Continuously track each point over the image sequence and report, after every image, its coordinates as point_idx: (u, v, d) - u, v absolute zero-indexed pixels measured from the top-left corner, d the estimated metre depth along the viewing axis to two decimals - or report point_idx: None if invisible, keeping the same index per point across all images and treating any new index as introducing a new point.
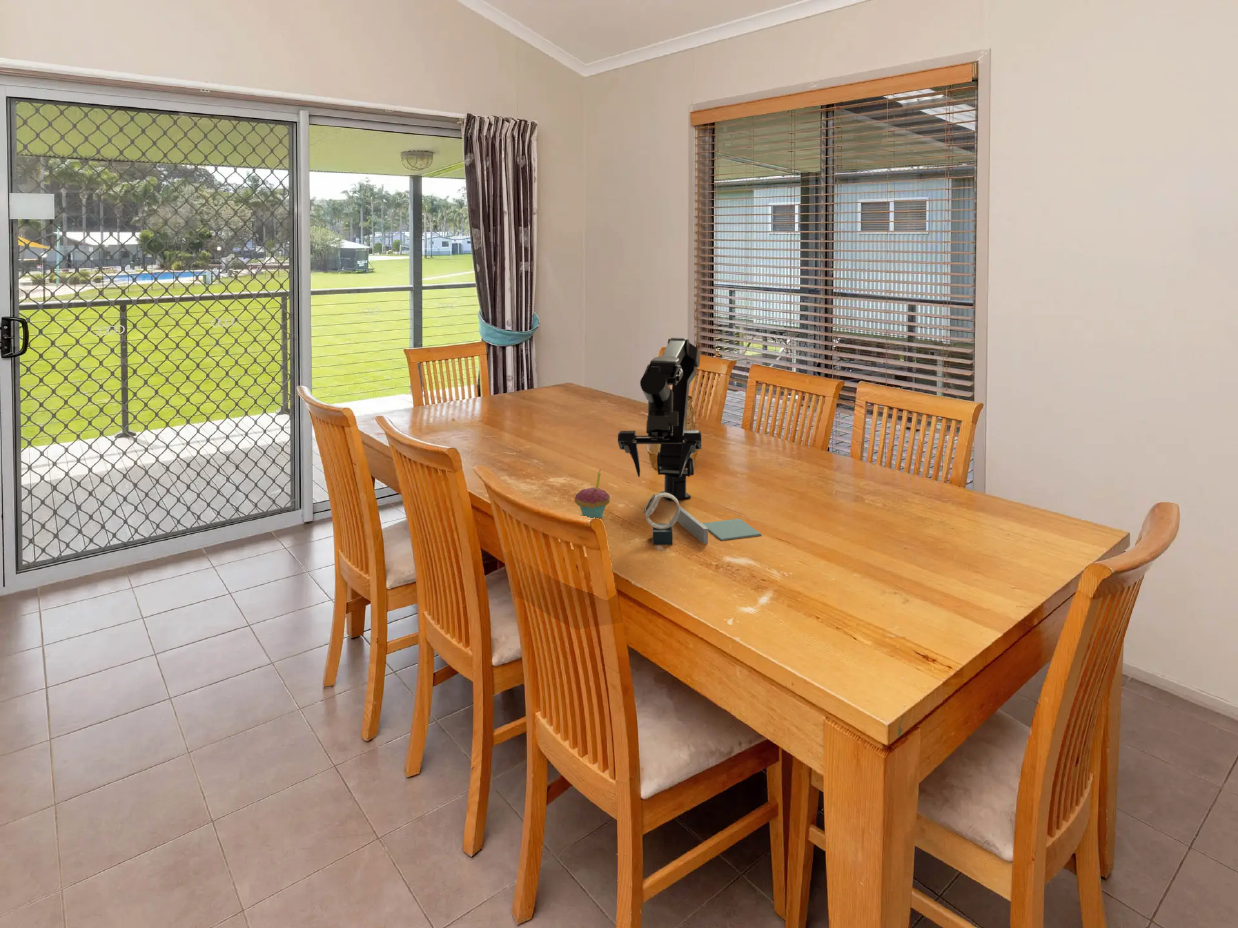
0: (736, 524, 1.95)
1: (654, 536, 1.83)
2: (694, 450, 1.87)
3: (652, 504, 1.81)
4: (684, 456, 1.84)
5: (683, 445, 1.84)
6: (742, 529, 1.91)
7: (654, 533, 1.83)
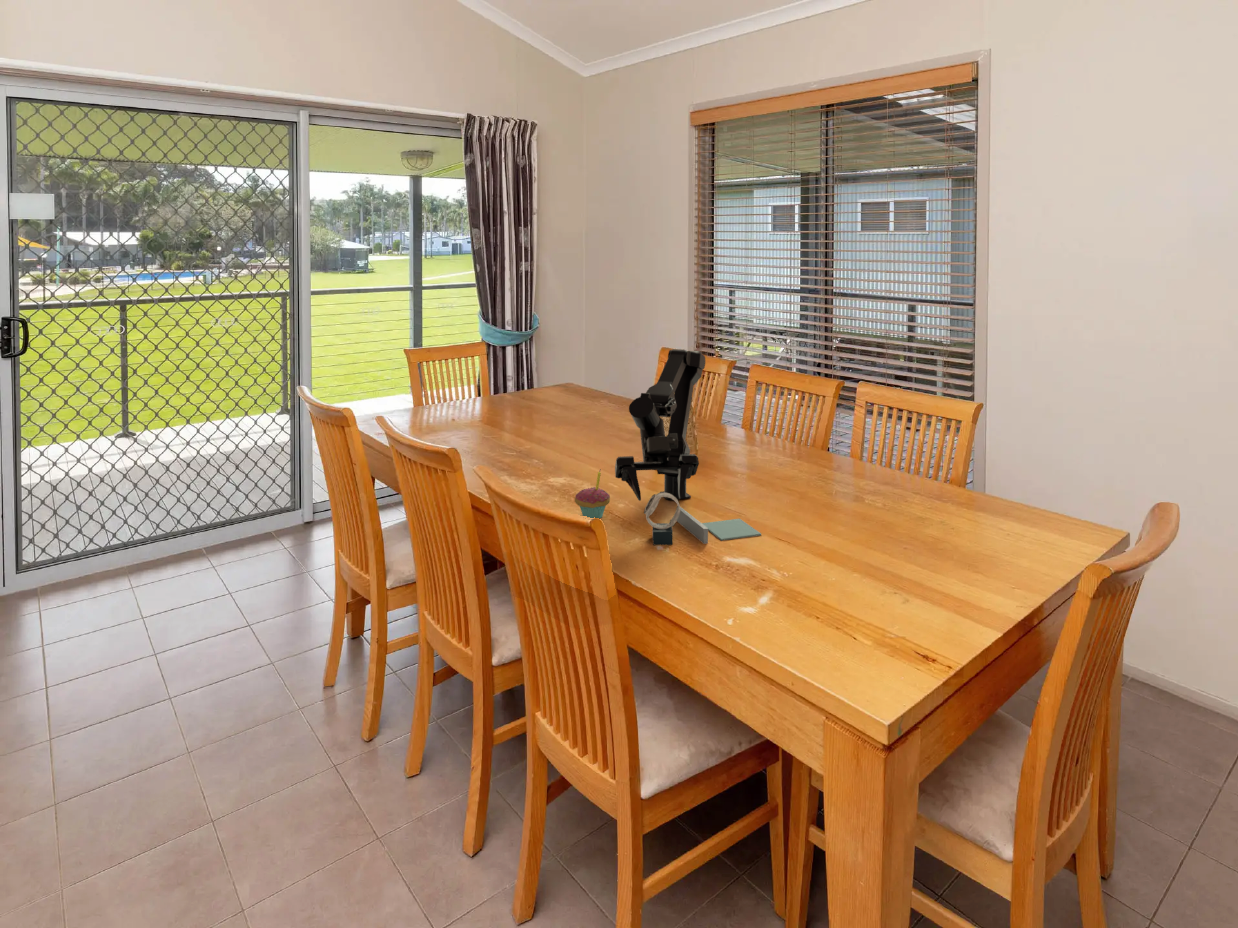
0: (736, 524, 1.95)
1: (654, 536, 1.83)
2: (690, 475, 1.90)
3: (652, 504, 1.81)
4: (683, 478, 1.87)
5: (682, 467, 1.87)
6: (742, 529, 1.91)
7: (654, 533, 1.83)
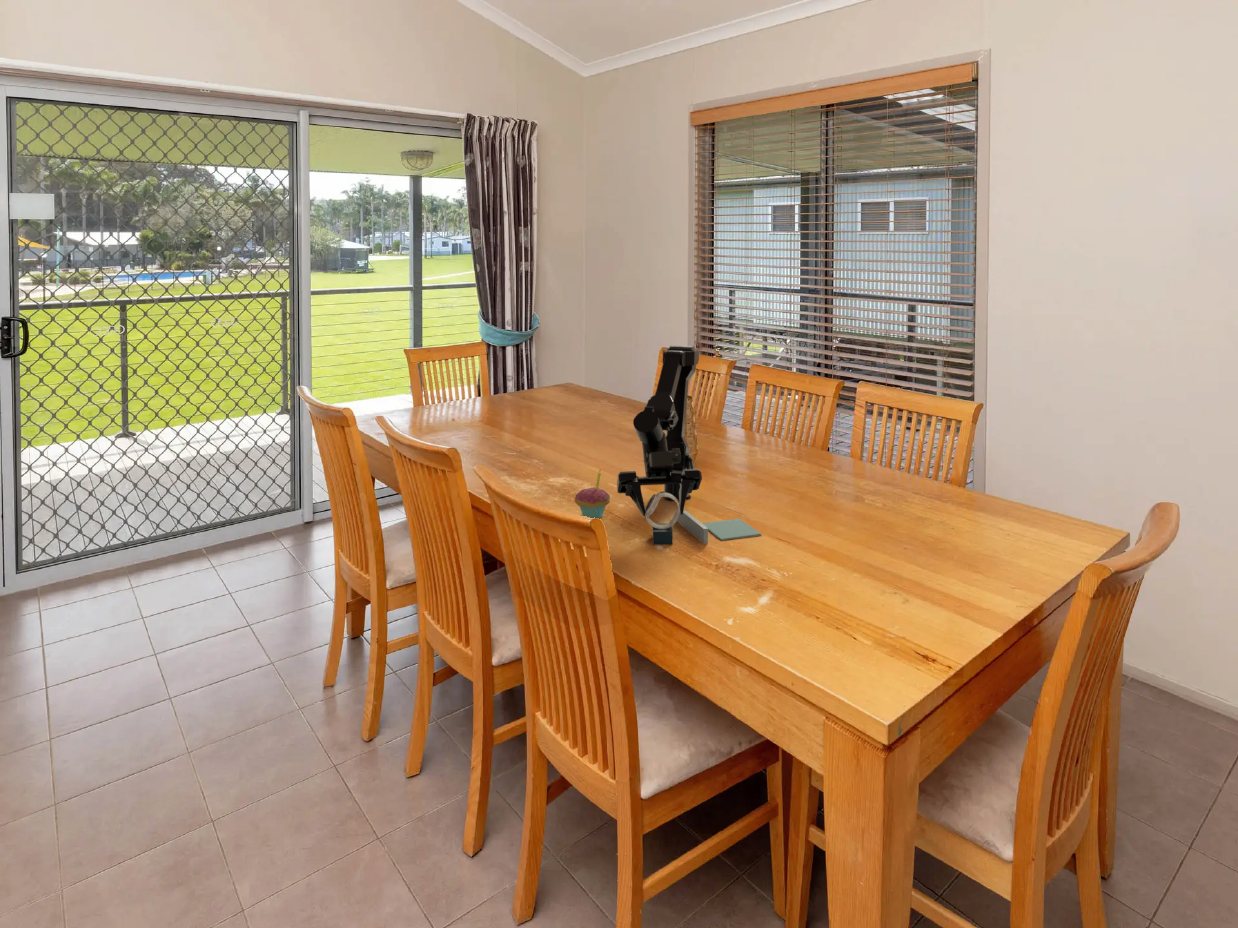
0: (736, 524, 1.95)
1: (654, 536, 1.83)
2: (691, 489, 1.88)
3: (652, 504, 1.81)
4: (684, 494, 1.84)
5: (683, 482, 1.84)
6: (742, 529, 1.91)
7: (654, 533, 1.83)
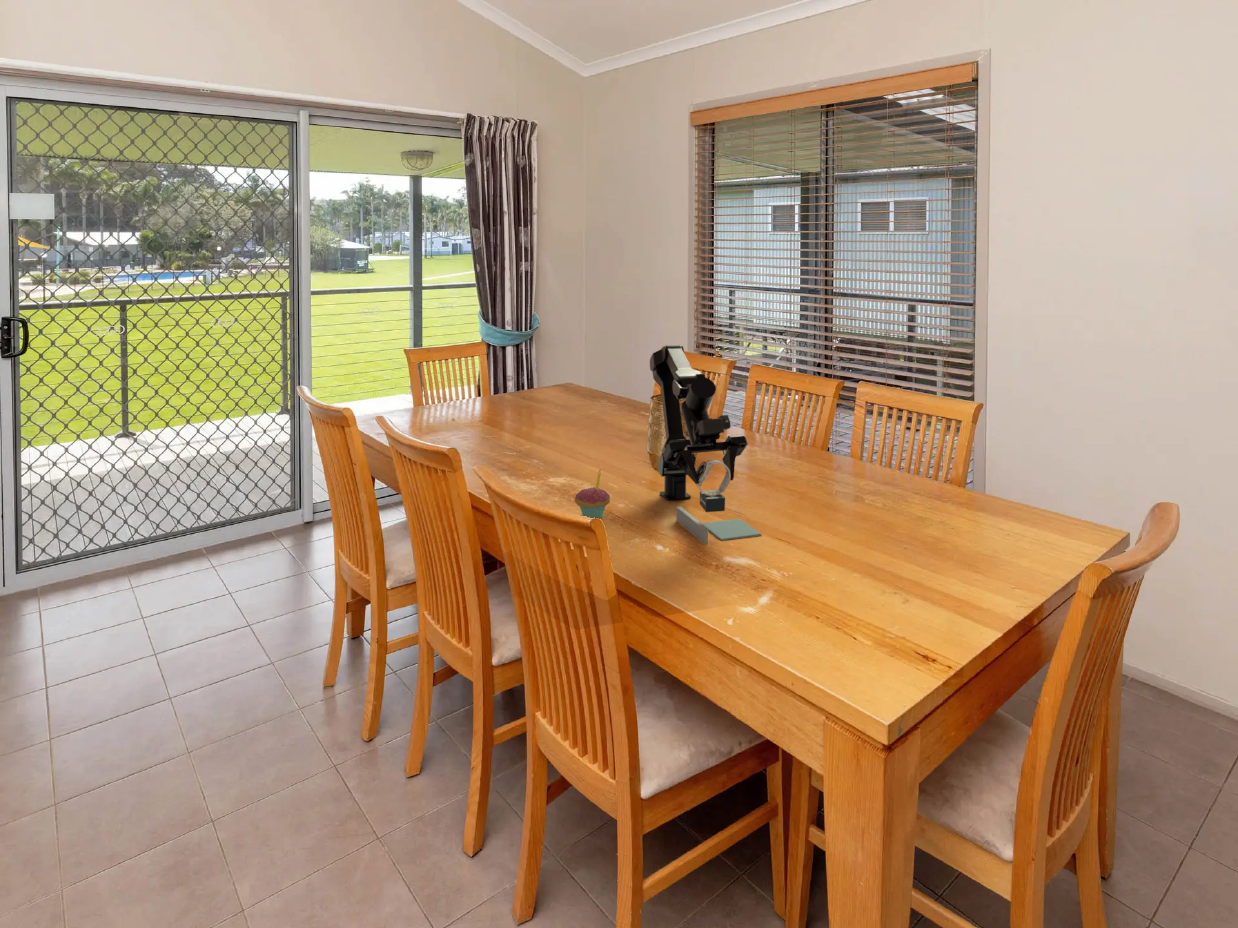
0: (736, 524, 1.95)
1: (707, 503, 1.84)
2: (735, 455, 1.90)
3: (705, 471, 1.82)
4: (733, 460, 1.87)
5: (731, 449, 1.86)
6: (742, 529, 1.91)
7: (707, 500, 1.84)
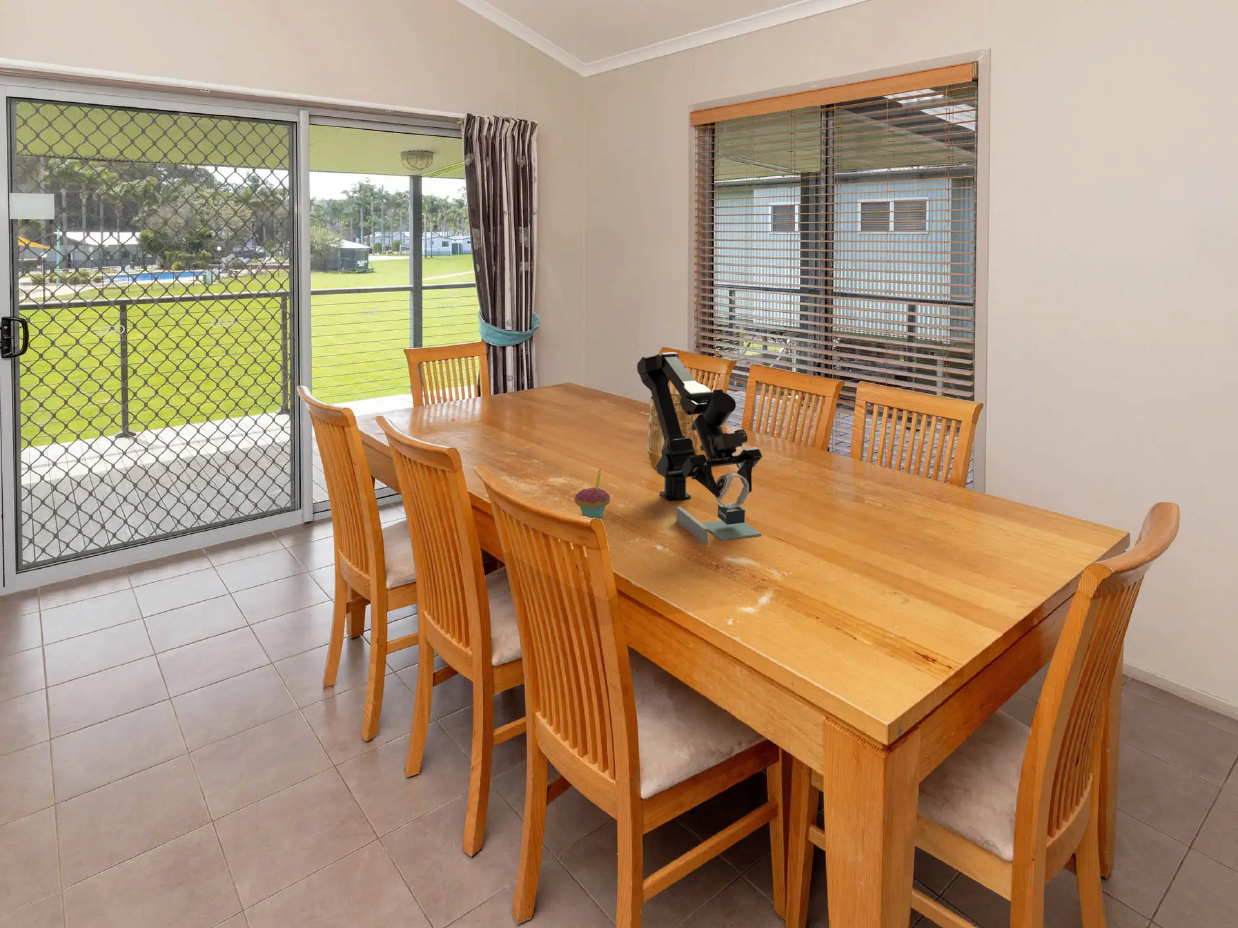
0: (736, 524, 1.95)
1: (728, 516, 1.88)
2: None
3: (726, 485, 1.86)
4: (749, 472, 1.91)
5: (748, 462, 1.91)
6: (742, 529, 1.91)
7: (728, 513, 1.88)
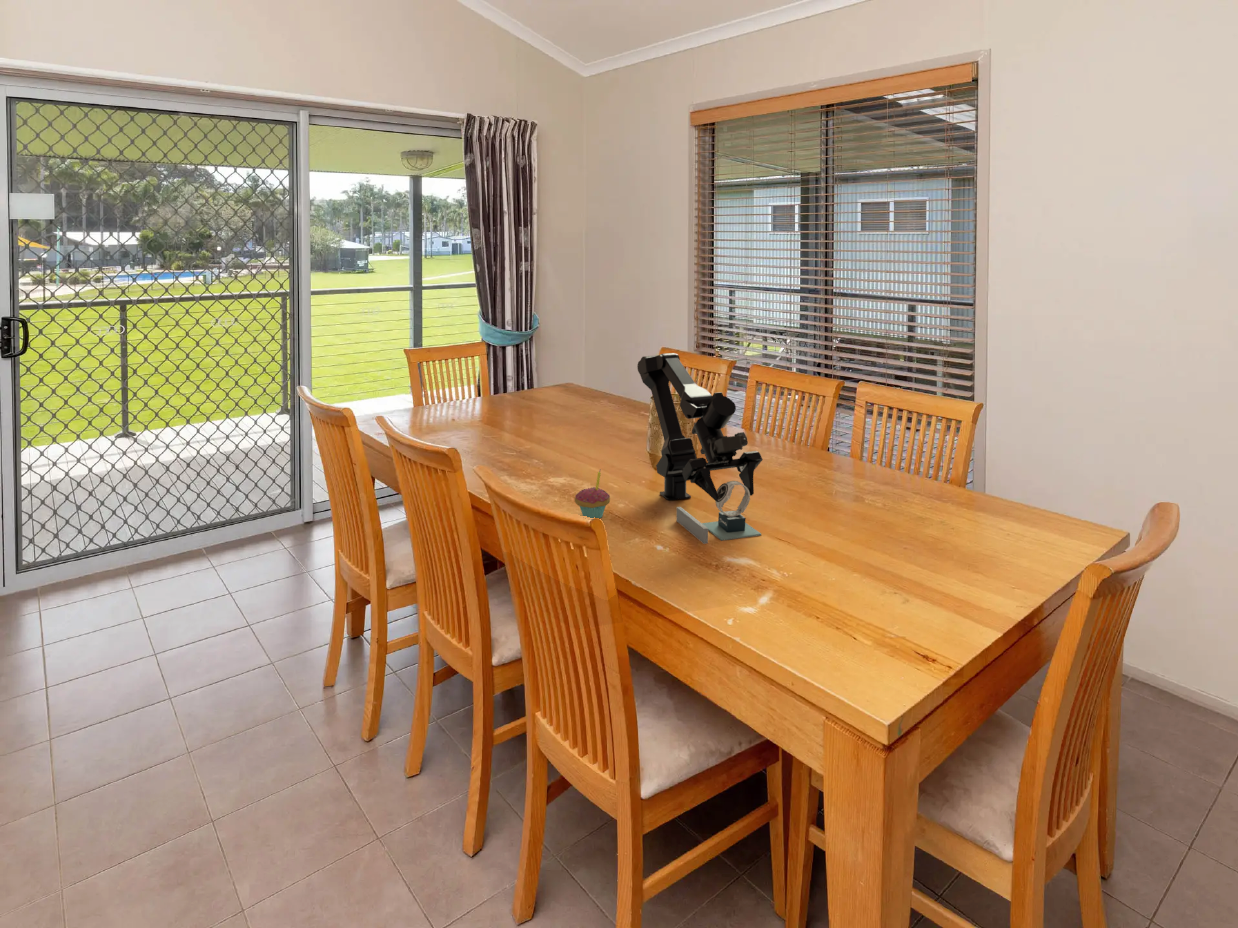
0: None
1: (729, 524, 1.89)
2: None
3: (728, 493, 1.87)
4: (751, 475, 1.92)
5: (749, 464, 1.91)
6: None
7: (729, 521, 1.88)
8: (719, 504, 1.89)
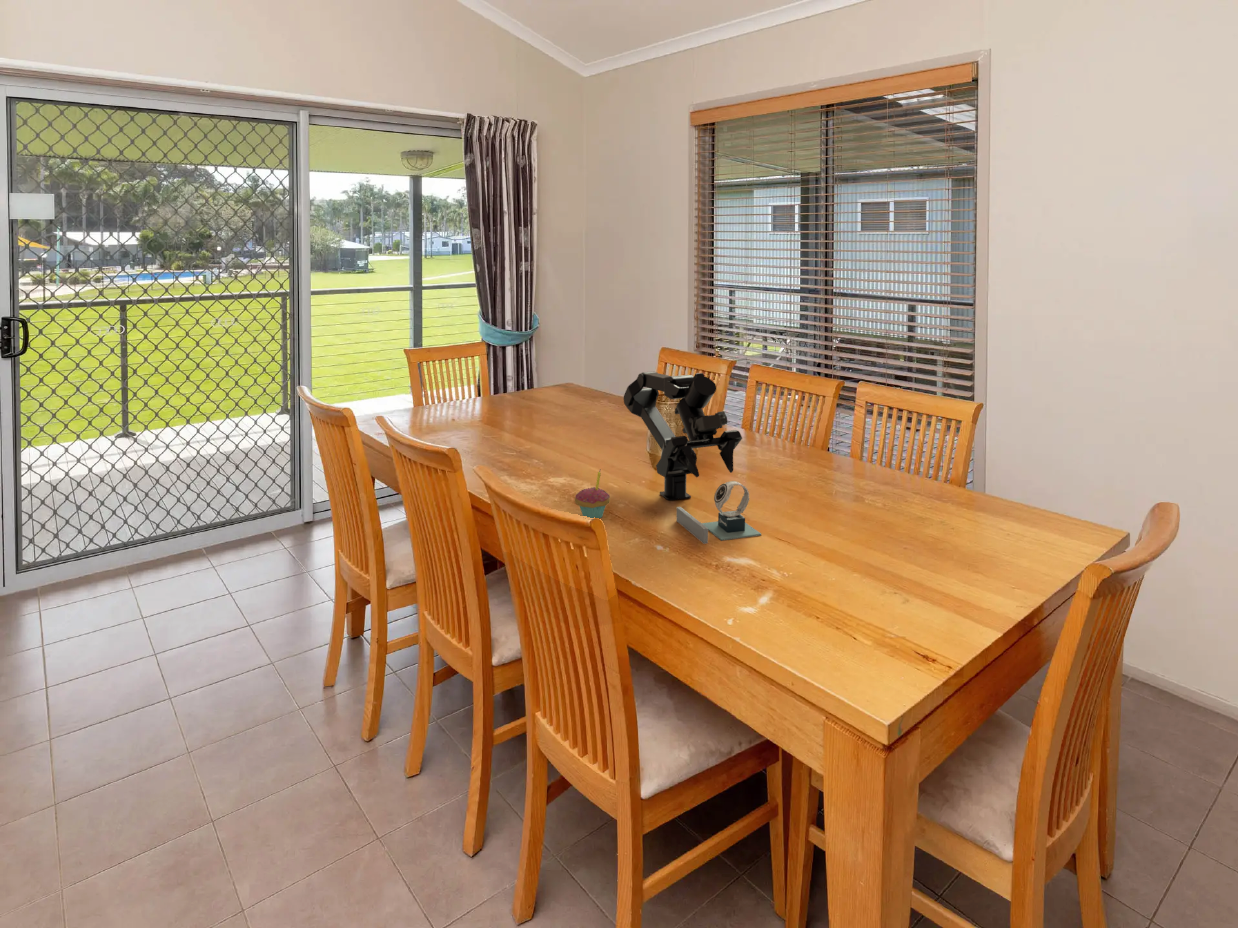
0: None
1: (728, 524, 1.89)
2: None
3: (727, 493, 1.87)
4: (731, 453, 1.99)
5: (729, 443, 1.99)
6: None
7: (729, 521, 1.88)
8: (718, 505, 1.89)
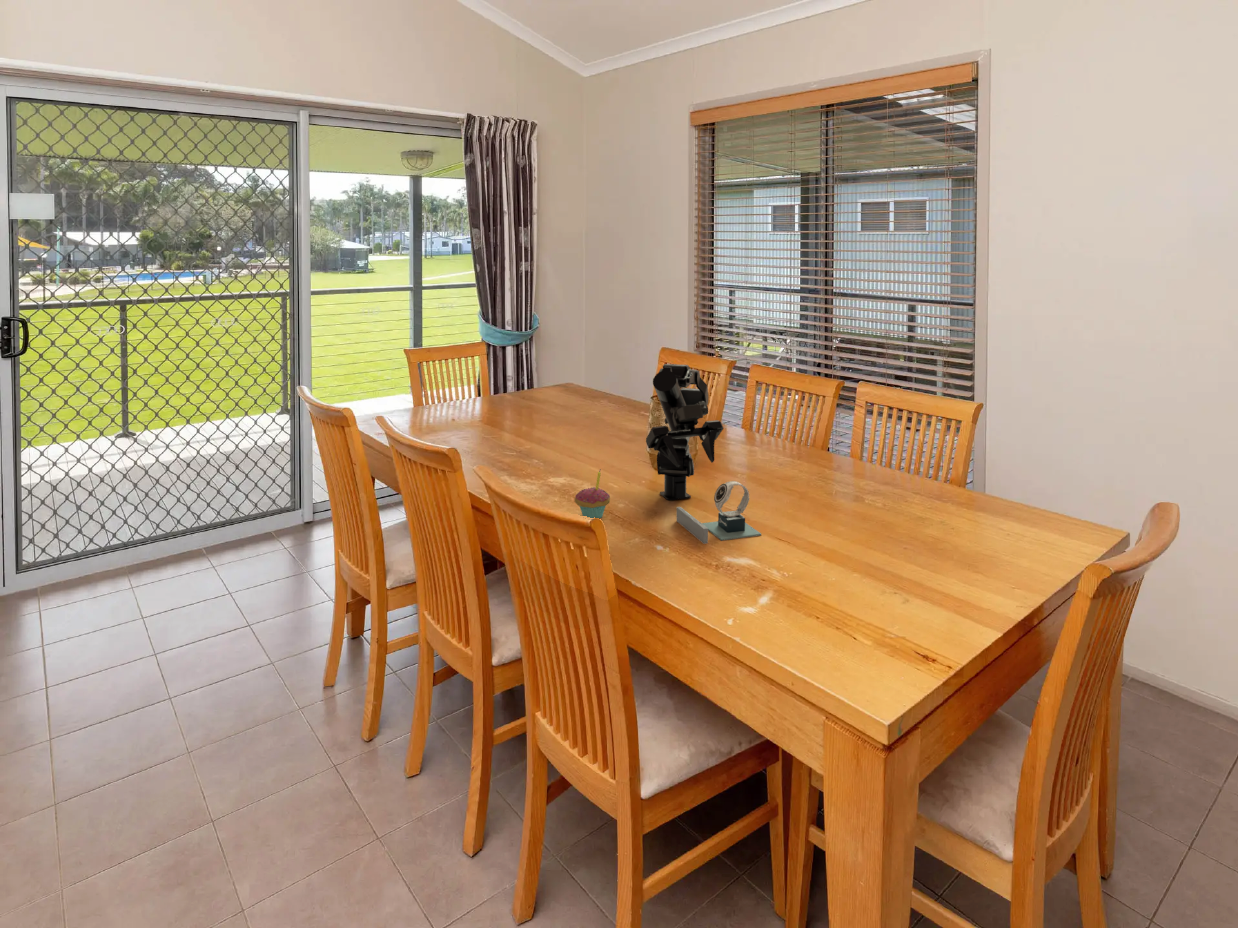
0: None
1: (728, 524, 1.89)
2: None
3: (727, 493, 1.87)
4: (712, 443, 2.00)
5: (711, 433, 1.99)
6: None
7: (729, 521, 1.88)
8: (718, 505, 1.89)
